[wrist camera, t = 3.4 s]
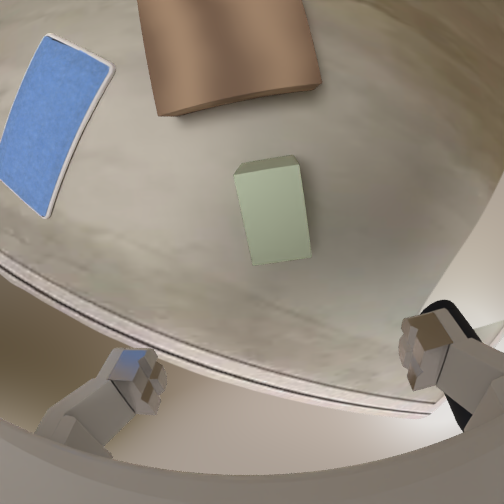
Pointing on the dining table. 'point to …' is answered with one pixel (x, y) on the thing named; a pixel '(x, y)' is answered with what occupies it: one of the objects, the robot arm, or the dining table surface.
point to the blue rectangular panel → (50, 119)
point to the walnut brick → (225, 51)
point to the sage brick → (273, 210)
